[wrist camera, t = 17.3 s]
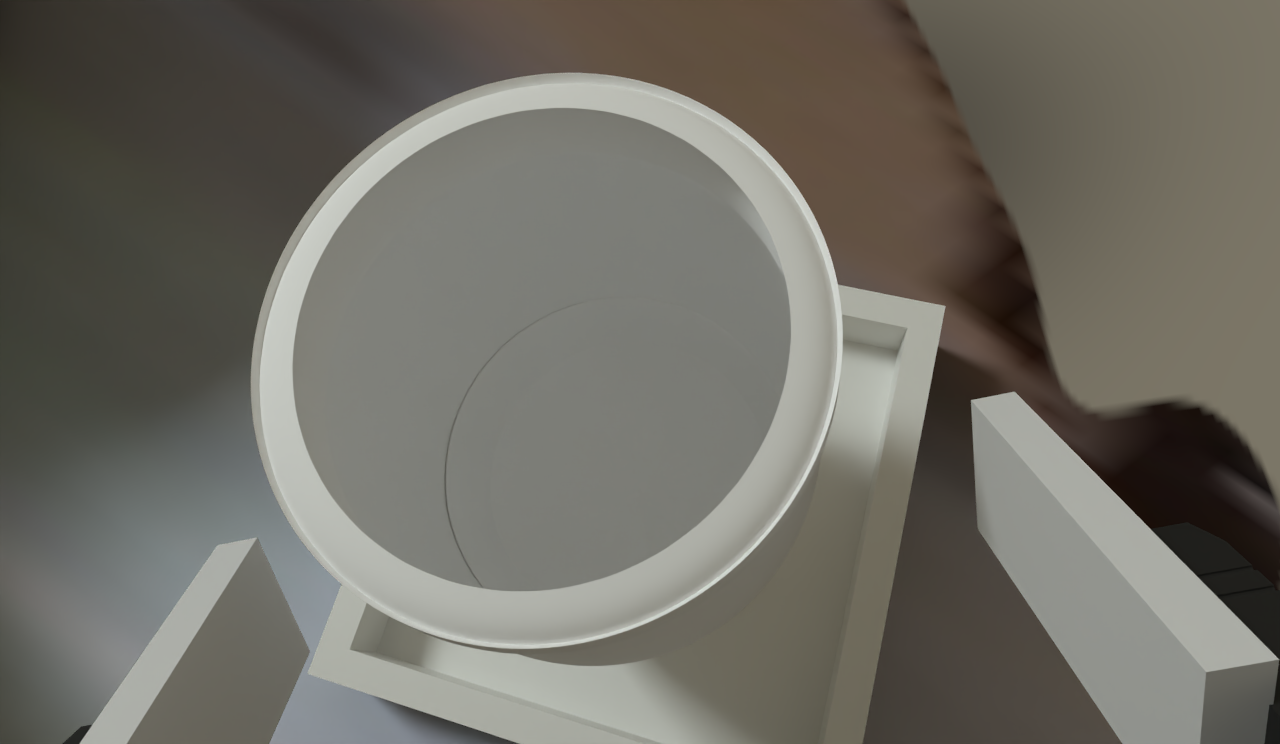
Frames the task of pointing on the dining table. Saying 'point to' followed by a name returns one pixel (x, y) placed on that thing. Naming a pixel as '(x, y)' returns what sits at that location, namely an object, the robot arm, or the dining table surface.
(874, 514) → the tray
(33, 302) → the dining table surface
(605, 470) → the jar
